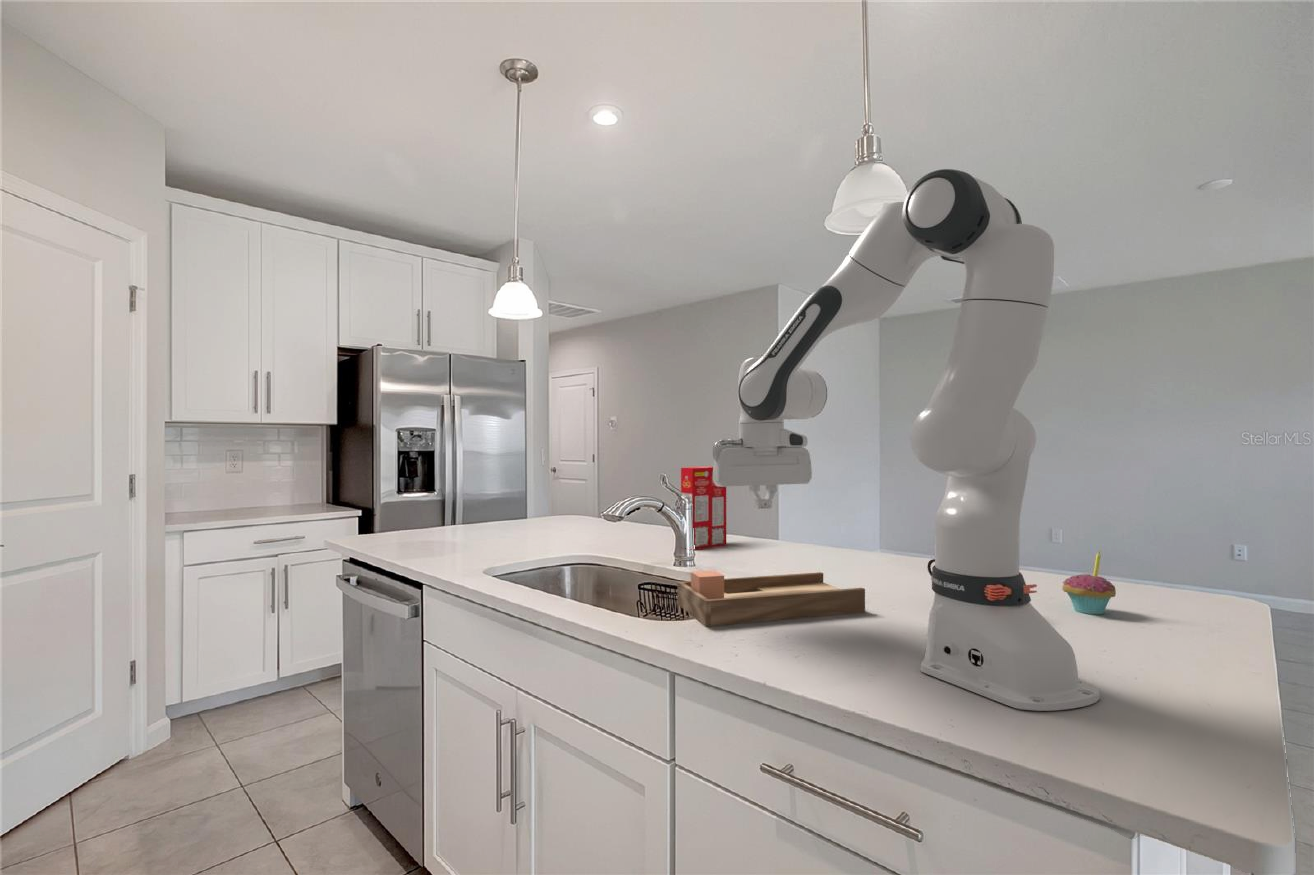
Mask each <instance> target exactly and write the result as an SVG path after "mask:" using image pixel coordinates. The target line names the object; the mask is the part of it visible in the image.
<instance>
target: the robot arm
mask: <svg viewBox="0 0 1314 875" xmlns="http://www.w3.org/2000/svg"><path fill="white" fill-rule="evenodd" d="M935 257H940V258H941V259H942V260H943V261H947V262H953V263H959V264H962V265H964V266H965V273H966V274H965V275H966V277H965V283H964V289H963V294H962V299H961V302H960V306H959V307H960V308H959V313H958V317H957V322H956V326H955V332H954V337H953V340H952V345H951V350H950V352H949V356H948V359H947V363H946V365H945V367H944V369H943V372H942V374H941V376H940V378H939V381H938V382H937V385H936V387H935V390H934V392H933V393H932V396H931V399H930V401H929V402H928V404H927V405H926V407H925V408H924V409H923V410H922V411H921V412H920V413H919V414H918V416H916V418H915V419H914V422H913V423H912V426H911V430H910V434H909V435H910V439H909V440H910V445H911V449H912V452H913V453H914V455H915V457H916V459H917V460H918V461H920V463H922V465H924V466H925V467H927V468H928V469H931V470H933V471H934V472H937V473H940V474H942V475H945V476H948V477H947V482H946V487H945V490H944V495H943V497H942V500H941V502H940V505H939V506H938V508H937V510H936V512H935V516H934V528H935V529H934V559H935V562H934V565H933V566H932V568H931V571H932V575H930V579H931V580H930V581H931V590H932V591H933V592H934V597H933V598H934V599H933V603H932V606H931V610H930V612H929V618H928V627H927V634H926V635H927V636H926V645H925V646H926V647H925V651H924V655H923V660H922V661H921V662H920V667H919V668H920V669H919V670H920V671H921V673H923V674H926V675H929V676H932V677H934V678H936V679H939V680H942V681H944V682H947V683H949V684H952V685H955V686H957V687H960V688H962V689H965V690H967V691H970V692H972V693H974V694H978V695H980V696H983V697H985V698H988V699H991V700H993V701H996V702H998V703H1001V704H1003V705H1006V706H1009V707H1011V708H1014V709H1017V710H1025V711H1044V712H1045V711H1047V712H1050V711H1063V710H1071V709H1077V708H1082V707H1086V706H1091V705H1092V704H1095V703H1097V702H1098V701H1099V700H1100V699H1101V694H1100V693H1101V692H1100V689H1099V688H1098V687H1096V686H1094V685H1092V684H1090V683H1088V682H1086V681H1083V680H1082V679H1080V678H1079V673H1078V672H1079V671H1078V665H1077V659H1076V655H1075V651H1074V649H1073V647H1072V645H1071V644H1070V642H1068V640H1066V639H1065V638H1064V637H1063V636H1062V635H1061V634H1060V633H1059V632H1058V631H1057V630H1056V629H1055V628H1054V627H1053V625H1052V624H1050V623H1049V622H1048V620H1046V618H1045V617H1044V616H1043V615H1042V614H1041V613H1040V612H1039V611H1038V610H1037V609H1036V608H1035V607H1034V606H1033V604H1031V601H1032V598H1031V595H1030V594H1036V593H1037V592H1038V591H1037V590H1031V589H1033V588H1036V587H1037V586H1038V585H1037V584H1035V583H1034V584H1026V581H1025V578H1024V576H1023V574H1022V573H1021V572H1020V528H1021V527H1020V525H1021V524H1020V523H1021V522H1020V521H1021V520H1020V519H1021V513H1022V512H1021V511H1022V506H1023V501H1024V500H1023V499H1024V495H1025V491H1026V490H1025V489H1026V487H1027V486H1026V485H1027V479H1028V474H1029V466H1030V461H1031V460H1030V459H1031V457H1032V454H1033V452H1034V450H1035V447H1036V442H1037V435H1036V434H1037V433H1036V430H1035V428H1034V425H1033V424H1032V422H1031V421H1030V420H1029V418H1027V416H1025V415H1024V414H1023V413H1022V412H1021V411H1019V410H1018V409H1017V408H1015V407H1014V406H1015V405H1016V401H1017V400H1018V397H1019V395H1020V392H1021V390H1022V388H1023V386H1024V384H1025V382H1026V379H1027V378H1028V376H1029V374H1031V372H1032V371H1033V370H1034V368H1035V366H1036V364H1037V361H1038V357H1039V352H1040V349H1041V344H1042V338H1043V335H1044V330H1045V325H1046V321H1047V316H1048V311H1049V306H1050V301H1051V296H1052V292H1053V285H1054V284H1053V282H1054V281H1053V280H1054V271H1055V270H1054V269H1055V244H1054V241H1053V238H1052V237H1051V235H1050V233H1048V232H1047V231H1046V230H1044V229H1042V228H1040V227H1038V226H1035V225H1032V224H1027V223H1023V222H1022V217H1021V214H1020V211H1019V210H1018V208H1017V207H1016V206H1015V204H1014V203H1013V202H1012V201H1011V200H1009V199H1008V198H1006V197H1004V196H1003V195H1002V194H1001V193H1000V192H998V191H997V190H996V188H995V187H993V186H992V185H990V184H989V183H987V182H986V181H983V180H981V179H978V178H977V177H974V176H973V175H971V174H970V173H968V172H966V171H963V170H958V169H952V168H949V169H947V168H943V169H938V170H934V171H930V172H929V173H926V174H925V175H923V176H922V177H920V179H919V180H917V181H916V182H915V183H914V184H913V185H912V186H911V188H910V189H909V190H908V193H907V195H906V196H905V199H904V201H896V202H895V201H894V202H891V203H889V204H887V205H885V206H884V207H883V208H882V209H881V210H880V211H879V212H878V213H877V214H876V215H875V216H874V218H873V219H872V220H871V221H870V223H868V225H867V226H866V227H865V229H864V230H863V231H862V232H861V234H860V235H859V237H857V239H856V241H855V242H854V244H853V245H852V247H851V248H850V250H849V252H848V253H847V255H846V256H845V258H844V259H843V261H842V262H841V264H839V266H838V268H837V269H836V270H835V271H834V273H833V274H832V275H831V276H830V277H829V278H828V279H827V281H825V282H824V283H823V284H822V285H821V286H820V287H819V288H817V289H816V290H815V291H814V292H812V294H810V295H809V297H807V299H806V300H805V301H804V302H803V303H802V304H801V306H800V307H799V308H798V310H797V311H796V312H795V314H794V315H793V316H792V317H791V318H790V320H789V321H788V322H787V324H786V326H784V328H782V331H780V333H779V334H778V336H777V337H776V338H775V340H774V341H773V343H772V344H771V345H770V346H769V347H768V348H767V351H766V352H765V353H764V354H763V355H756V356H753V357H750V358H748V359H746V360H744V361H743V363H742V364H741V366H740V367H739V368H740V369H739V373H738V382H737V399H738V400H737V403H738V406H739V410H740V416H739V420H738V438H731V439H726V438H721V439H719V441H716V442H715V443H714V444H713V446H712V458H713V460H714V461H713V466H712V467H713V482H714V484H715V485H716V486H719V487H726V488H727V487H748V491H749V494H750V495H751V497H752V499H753V500H754V509H755V510H761V509H764V510H765V509H772V507H773V499H774V497H775V495H776V493H777V491H778V488H777V486H778V485H779V486H781V485H806V484H809V483H810V481H811V480H812V478H813V474H812V473H813V472H812V462H811V461H812V460H811V455H810V452H809V450H808V449H807V448H806V446H808V437H807V436H806V435H804V434H801V433H798V432H795V431H792V430H789V429H786V428H785V426H784V425H785V424H784V421H785V420H788V421H789V420H807V419H812V418H814V417H817V416H818V415H819V414H820V413H821V412H822V411H823V409H824V408H825V405H826V403H827V398H828V386H827V384H826V381H825V380H824V377H823V376H821V374H819V373H818V372H816V371H813V370H810V369H807V368H802V367H801V366H802V364H803V363H804V362H805V361H806V360H807V358H808V357H809V356H810V355H811V353H812V352H813V351H814V349H815V348H816V347H817V346H818V344H819V343H820V342H821V341H823V339H824V338H826V337H827V336H828V335H830V334H832V333H833V332H836V331H839V330H840V329H843V328H846V327H849V326H854V325H857V324H863V323H867V322H870V321H871V322H872V321H874V320H876V319H878V318H880V317H882V316H883V315H884V314H885V313H887V311H888V310H890V308H891V307H892V306H893V305H894V304H895V303H896V301H897V300H898V299H899V298H900V296H901V294H902V293H903V291H904V290H905V288H906V287H907V286H908V284H909V283H910V281H911V280H912V278H913V277H914V275H915V273H916V272H917V271H918V269H919V268H920V267H921V266H922V264H924V263H925V262H926V261H927V260H930V259H931V258H935ZM761 486H765V491H767V493H766V495H765V496H764V498H761V496H760V494H759V492H760V491H761Z"/></svg>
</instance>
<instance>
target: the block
mask: <svg viewBox="0 0 1314 875" xmlns="http://www.w3.org/2000/svg"><path fill="white" fill-rule="evenodd" d="M724 579H725V575H724V574H722V573H720V572H718V571H717V570H713V569H712V570H698V571H690V581H691V588H692V589H694V590H695V591H697V592H698V593H700V594H701V595H703V596H704V597H706V598H707V599H721V598H724Z"/></svg>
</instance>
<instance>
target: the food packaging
mask: <svg viewBox="0 0 1314 875" xmlns="http://www.w3.org/2000/svg"><path fill="white" fill-rule="evenodd" d="M681 492H682V493H683V494H685V495H686V496H687V497H689V498H690V501H692V504H693V528H694V545H695V549H696V550H695V551H697V550H704V549H709V548H717V547H724V546H727V487H719V486H716V485H715V484H714V482H713V466H694V467H693V466H692V467H690V466H689V467H680V493H681Z"/></svg>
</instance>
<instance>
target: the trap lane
mask: <svg viewBox="0 0 1314 875" xmlns="http://www.w3.org/2000/svg"><path fill="white" fill-rule="evenodd" d="M676 587H677V597H676V598H677V605H678V606H679V607H680V608H682V609H683V610H685V611H686V612H687V613H688V614H689V615H691V616H692V617H693V618H695V620H697V621H698V622H700V623H701V625H703V626H704V627H714V626H725V625H737V624H746V623H747V624H748V623H758V622H769V621H770V622H771V621H781V620H789V619H790V620H793V619H803V618H814V617H815V618H816V617H823V616H824V617H825V616H827V617H828V616H836V615H837V616H838V615H847V614H857V613H858V614H859V613H865V612H866V589H865V587H855V588H842V589H841V588H838V587H836V586H833V585H831V584H829V583H826V582H824V573H823V572H821V571H819V572H809V573H808V572H806V573H791V574H790V573H789V574H777V575H776V574H774V575H762V576H760V575H759V576H747V577H745V576H744V577H733V578H731V577H730V578H729V577H728V578H724V598H721V599H707V598H706V597H704V596H703V595H701V594H700V593H698V592H697V591H695V590H694V589H692V588H691V580H687V581H677V586H676Z"/></svg>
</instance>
